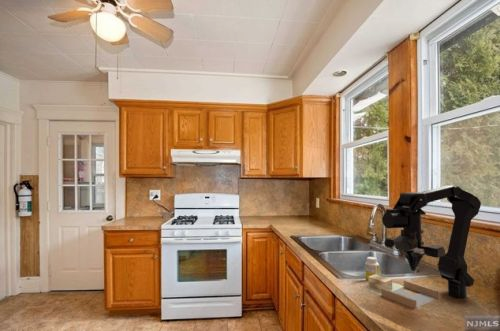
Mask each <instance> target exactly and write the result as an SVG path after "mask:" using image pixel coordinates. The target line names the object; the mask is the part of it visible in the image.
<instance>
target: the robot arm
mask: <svg viewBox="0 0 500 331" xmlns="http://www.w3.org/2000/svg"><path fill="white" fill-rule="evenodd" d="M444 199H446V200H447V201H448V202H449V203H450V204H451V211H452V212H453V215H454V219H453V224H452V230H451V234H450V237H449V238H450V240H449V243H448V247H447V248H448V249H447V252H446V249H445V248H444V247H443V246H440V245H436V244H435V245H434V244H429V245H427V246H425V245H424V244H425V243H424V241H423V240H422V237H423V236H422V235H423V234H424V229H422V221H421V220H422V216H424V215H426V214H427V213H426V212H425V211H424V210H423V209H422V208H424V207H426V206H427V205H428V204H429V203H432V202H437V201H439V200H444ZM481 205H482V201H481V200H480V199H479V198H478V197H477V196H475V195H474V194H472V193H470V192H469V191H467V190H465V189H462V188H461V187H460V186H458V185H449V184H448V185H443V186H439V187H436V188H432V189H427V190H424V191H417V192H415V191H414V192H413V191H411V192H410V191H409V192H406V191H405V192H402V193H400V195H399V198H398V199H397V201H396V203H395V205H393V206H394V207H393V208H392V209H391V208H386V209H385V212H384V213H383V215H382V218H381V220H382V224H383V226H384V227H385V228H387V229H400V235H397V237H393V236H392V237H388V238H385V239H384V242H383V243H384V247H388V248H393V247H394V248H395V250H397V251H398V250H399V252H400V253H402V254H403V255H404V256H405V258H406V261H407V263H408V265H409V267H410V270H411V271H413V272H415V271H417V267H418V266H419V264H420V261H421V260H422V258H423V256H427V257H431V258H437V259H438V262H437V264H436V265H437V270H438V271H439V274H440V276H441V277H440V278H442V279H443V280H446V281H447V294H448V296H449V297H452V298H454V299H467V298H468V291H467V290H468V289H467V287H468V288H470V287H473V286H474V282H475V279H474V278H473V277H472V276H471V275H470V274H469V273H468V265H467V262H466V260H465V254H466V253H465V252H466V249H467V248H466V247H467V242H468V237H469V232H470V227H471V223H472V219H474V218H475V217H476V216H477V215H478V214H479V212H480V209H481Z"/></svg>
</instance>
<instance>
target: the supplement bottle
mask: <svg viewBox="0 0 500 331" xmlns="http://www.w3.org/2000/svg"><path fill="white" fill-rule="evenodd" d="M364 265H365V266H364V267H365V268H364V269H365V281H366V282H368V277H369V276H372V275H375V274H377V275H380V264H379V262H378V258H377V257H373V256H367V258H366V261H365V264H364Z"/></svg>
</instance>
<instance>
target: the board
mask: <svg viewBox="0 0 500 331" xmlns="http://www.w3.org/2000/svg"><path fill="white" fill-rule="evenodd" d="M363 289H364V290H367V291H369V292H372V293H375V294H377V295H379V296H382V297H384V298H386V299H389V300H392V301H395V302H397V303H399V304H402V305H405V306H407V307H410V308H412V309H414V310H417V309H418V308H420V307H422V306H424V305H427V304H428V303H430V302H432V301H434V300H436V299H439V290H437V289H434V288H430V287H427V286H424V285H422V284H418V283H416V282H412V281H408V280H405V279H404V280H403V285H401V284H399V283H395V282H393V281H392V289H393V290H391V291H390V290H387V289H384V288H382V289H381V291H379V290H376V289H373V288H371V287H369V285H368V286H364V287H363ZM404 289H408V290H411V291H414V292H417V293H410V292H408V291H405V290H404Z"/></svg>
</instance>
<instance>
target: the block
mask: <svg viewBox="0 0 500 331" xmlns="http://www.w3.org/2000/svg"><path fill="white" fill-rule="evenodd" d="M367 282H368V286H369V287H371V288H373V289H376V290H379V291H381V289H382V288H384V289H387V290H390V291H391V290H393V289H392V282H393V279H391V278H388V277H385V276H382V275H380V274H379V275H377V274H375V275H372V276H369V277H368V280H367Z"/></svg>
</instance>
